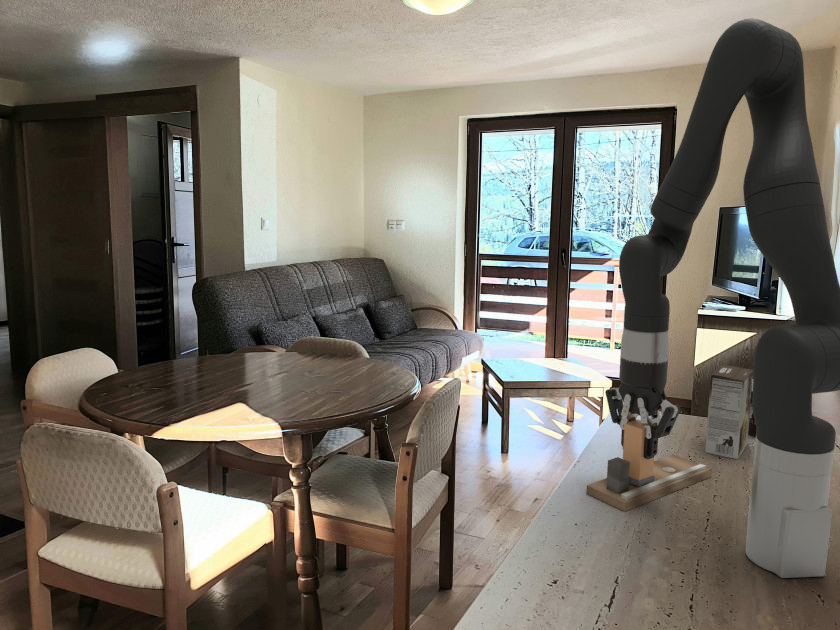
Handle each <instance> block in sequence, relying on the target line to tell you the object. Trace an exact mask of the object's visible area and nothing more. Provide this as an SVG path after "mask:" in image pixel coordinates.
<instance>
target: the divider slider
mask: <svg viewBox="0 0 840 630" xmlns="http://www.w3.org/2000/svg"><path fill="white" fill-rule="evenodd" d="M645 437H646V436H645V429H644V425H643V424H642V423H641V419H636V420H634V421H631V422H628V423H625V425H624V444H623V446H622V459H624V460H626V461H629V462H630V470H629V483H631V484H634V485H636V486H638V487H640V486H643V485H645V484H648V483H651V482H653V481H654V477H655V476H654V475H653V465H654V461H655V456H654V457H653V458H651V459H645V458H644V457H643V453H644V438H645Z"/></svg>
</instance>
